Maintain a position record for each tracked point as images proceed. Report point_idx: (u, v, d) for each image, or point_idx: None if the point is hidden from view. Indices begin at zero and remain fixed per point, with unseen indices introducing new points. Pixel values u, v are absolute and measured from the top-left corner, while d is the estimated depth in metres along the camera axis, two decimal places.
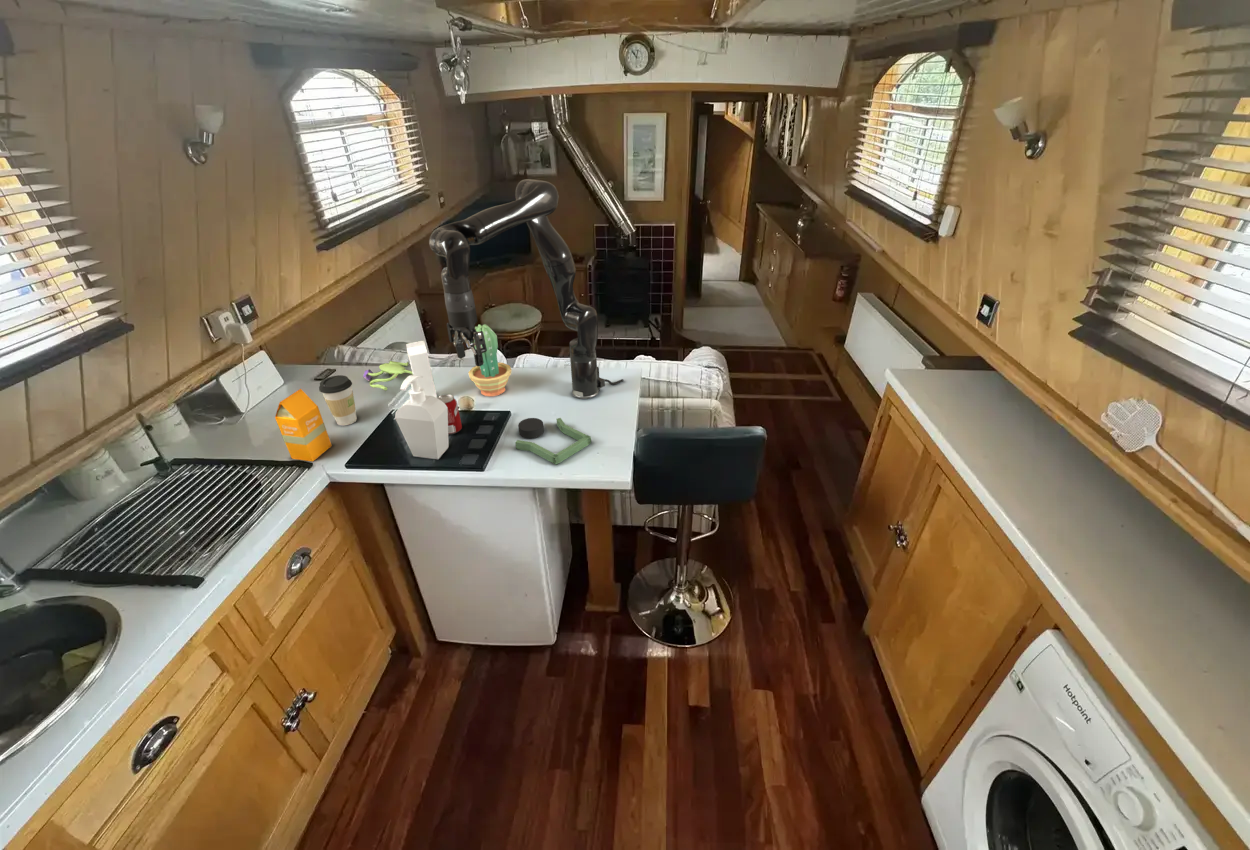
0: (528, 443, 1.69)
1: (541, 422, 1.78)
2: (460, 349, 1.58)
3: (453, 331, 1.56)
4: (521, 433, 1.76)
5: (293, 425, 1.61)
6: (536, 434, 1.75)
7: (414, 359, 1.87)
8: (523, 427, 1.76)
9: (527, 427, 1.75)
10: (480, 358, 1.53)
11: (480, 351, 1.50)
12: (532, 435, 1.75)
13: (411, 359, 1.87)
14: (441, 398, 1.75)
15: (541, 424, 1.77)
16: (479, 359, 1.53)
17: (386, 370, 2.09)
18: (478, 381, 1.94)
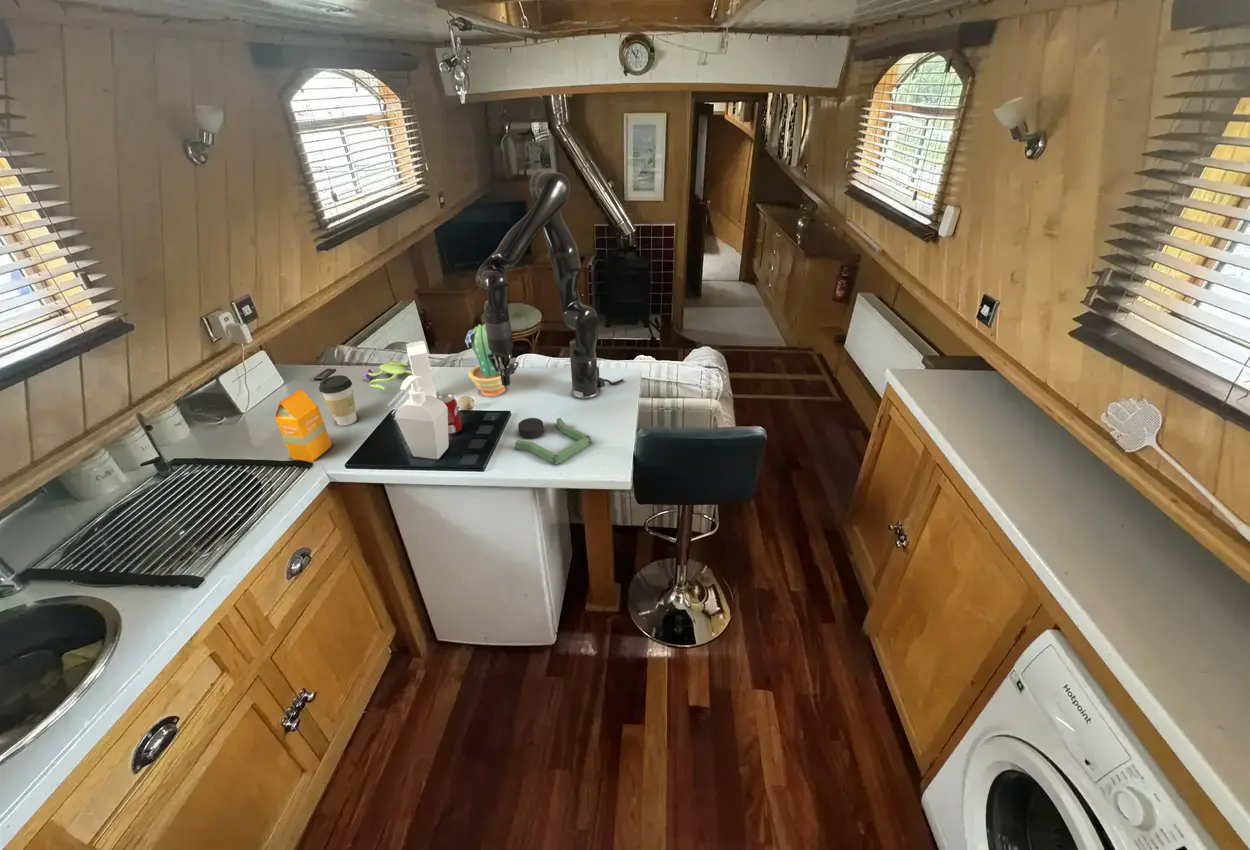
0: (528, 443, 1.69)
1: (541, 422, 1.78)
2: None
3: (495, 360, 1.75)
4: (521, 433, 1.76)
5: (293, 425, 1.61)
6: (536, 434, 1.75)
7: (414, 359, 1.87)
8: (523, 427, 1.76)
9: (527, 427, 1.75)
10: (507, 379, 1.75)
11: None
12: (532, 435, 1.75)
13: (411, 359, 1.87)
14: (441, 398, 1.75)
15: (541, 424, 1.77)
16: (507, 380, 1.75)
17: (386, 370, 2.09)
18: (478, 381, 1.94)
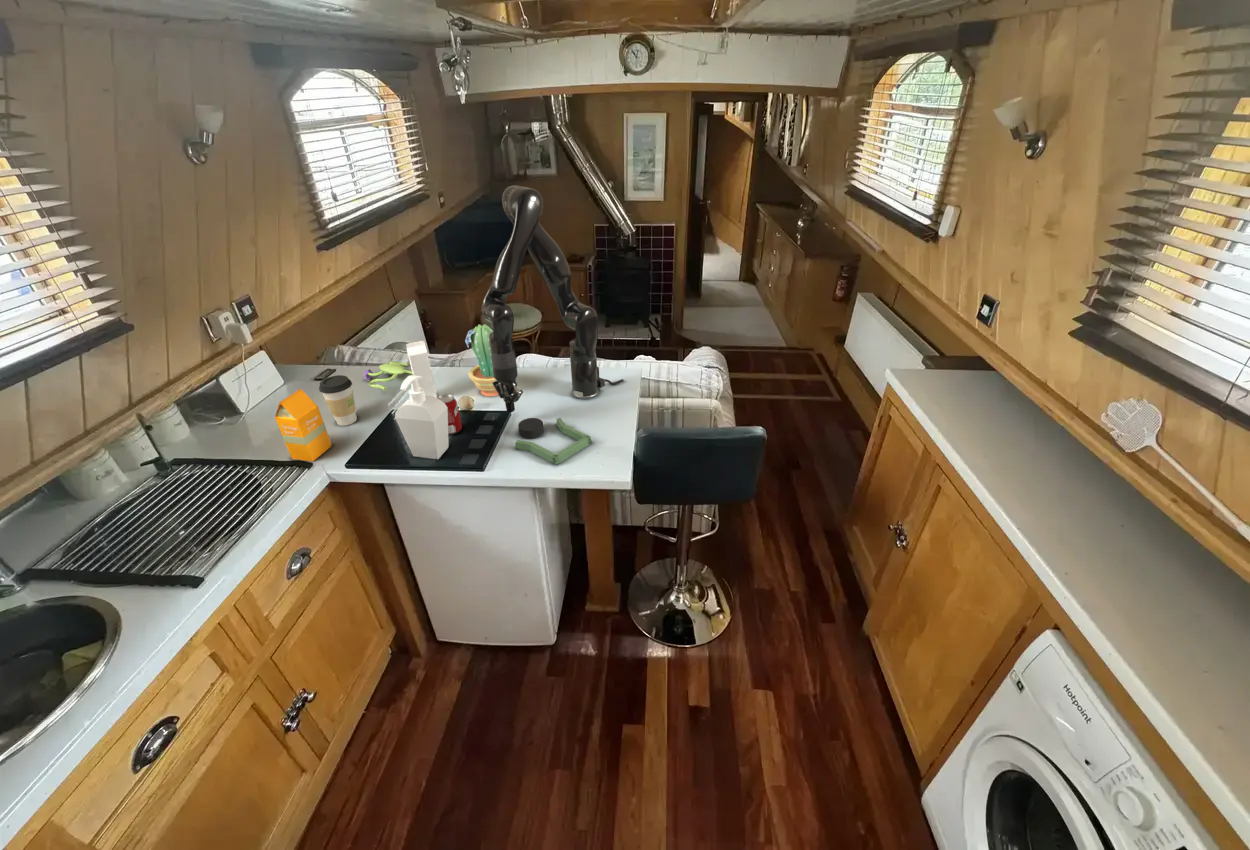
0: (528, 443, 1.69)
1: (541, 422, 1.78)
2: None
3: (500, 387, 1.80)
4: (521, 433, 1.76)
5: (293, 425, 1.61)
6: (536, 434, 1.75)
7: (414, 359, 1.87)
8: (523, 427, 1.76)
9: (527, 427, 1.75)
10: (512, 406, 1.80)
11: None
12: (532, 435, 1.75)
13: (411, 359, 1.87)
14: (441, 398, 1.75)
15: (541, 424, 1.77)
16: (511, 407, 1.80)
17: (386, 370, 2.09)
18: (478, 381, 1.94)
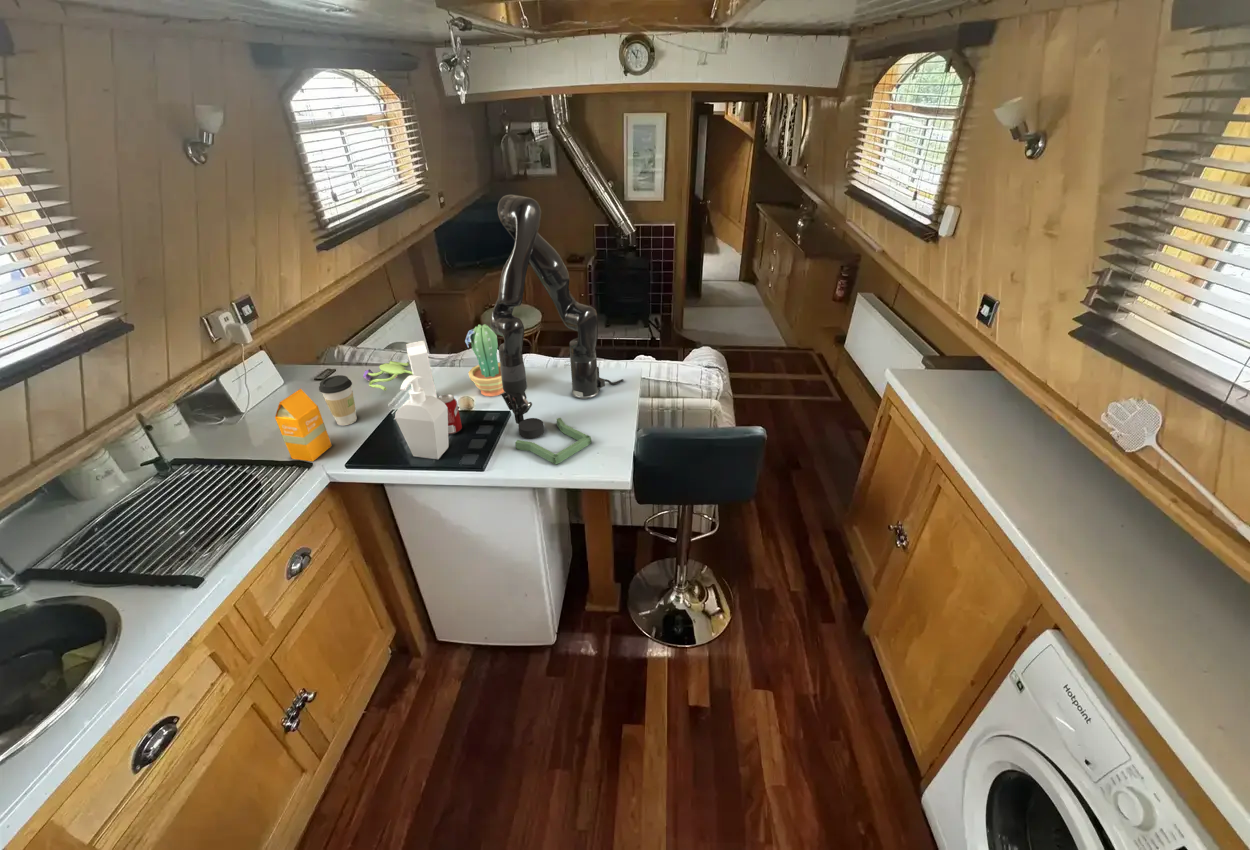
0: (528, 443, 1.69)
1: (541, 422, 1.78)
2: None
3: (509, 399, 1.79)
4: (521, 433, 1.75)
5: (293, 425, 1.61)
6: (536, 434, 1.75)
7: (414, 359, 1.87)
8: (524, 427, 1.76)
9: (527, 427, 1.75)
10: (521, 418, 1.79)
11: None
12: (532, 435, 1.75)
13: (411, 359, 1.87)
14: (441, 398, 1.75)
15: (541, 424, 1.77)
16: (520, 419, 1.79)
17: (386, 370, 2.09)
18: (478, 381, 1.94)
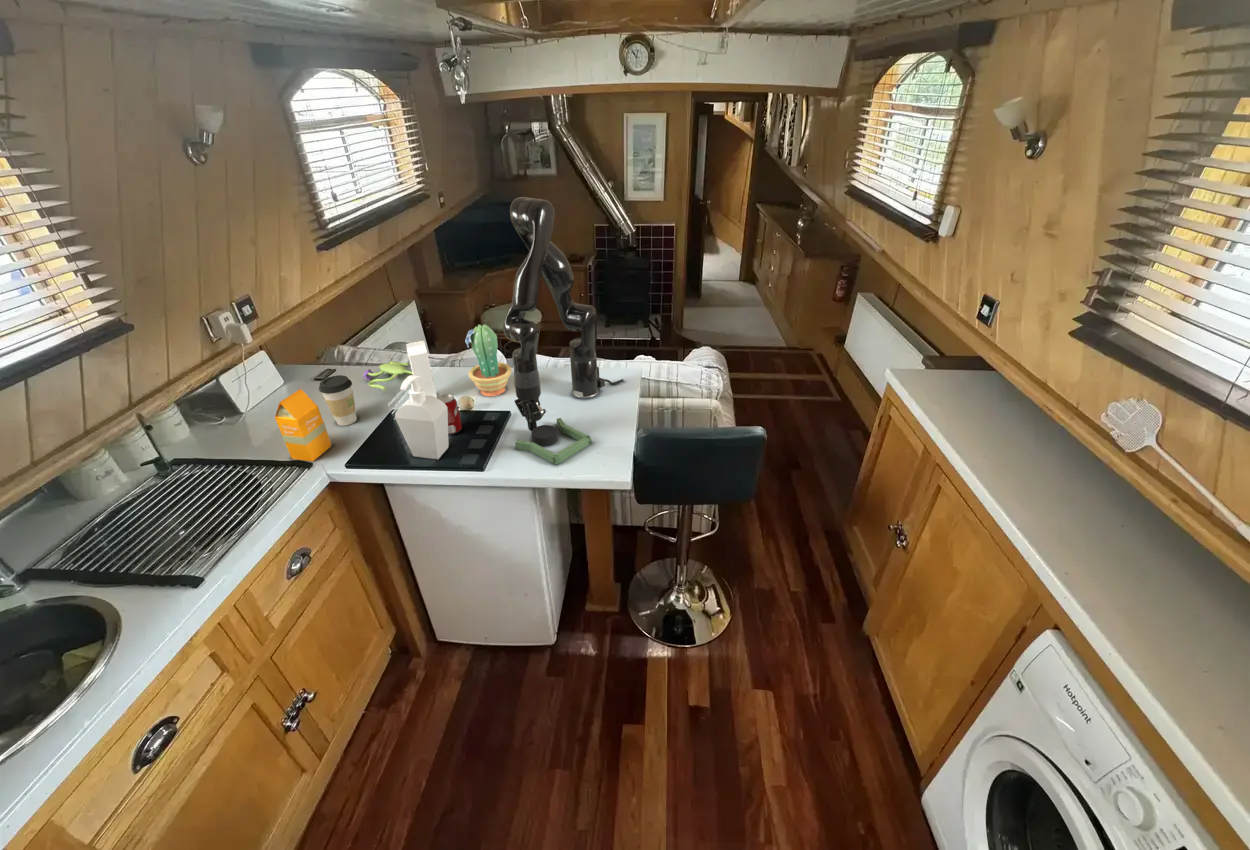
0: (528, 443, 1.69)
1: (555, 429, 1.74)
2: None
3: (522, 406, 1.75)
4: (534, 441, 1.72)
5: (293, 425, 1.61)
6: (550, 442, 1.71)
7: (414, 359, 1.87)
8: (537, 434, 1.72)
9: (540, 435, 1.72)
10: (534, 425, 1.75)
11: None
12: (546, 443, 1.71)
13: (411, 359, 1.87)
14: (441, 398, 1.75)
15: (555, 431, 1.73)
16: (533, 426, 1.75)
17: (386, 370, 2.09)
18: (478, 381, 1.94)
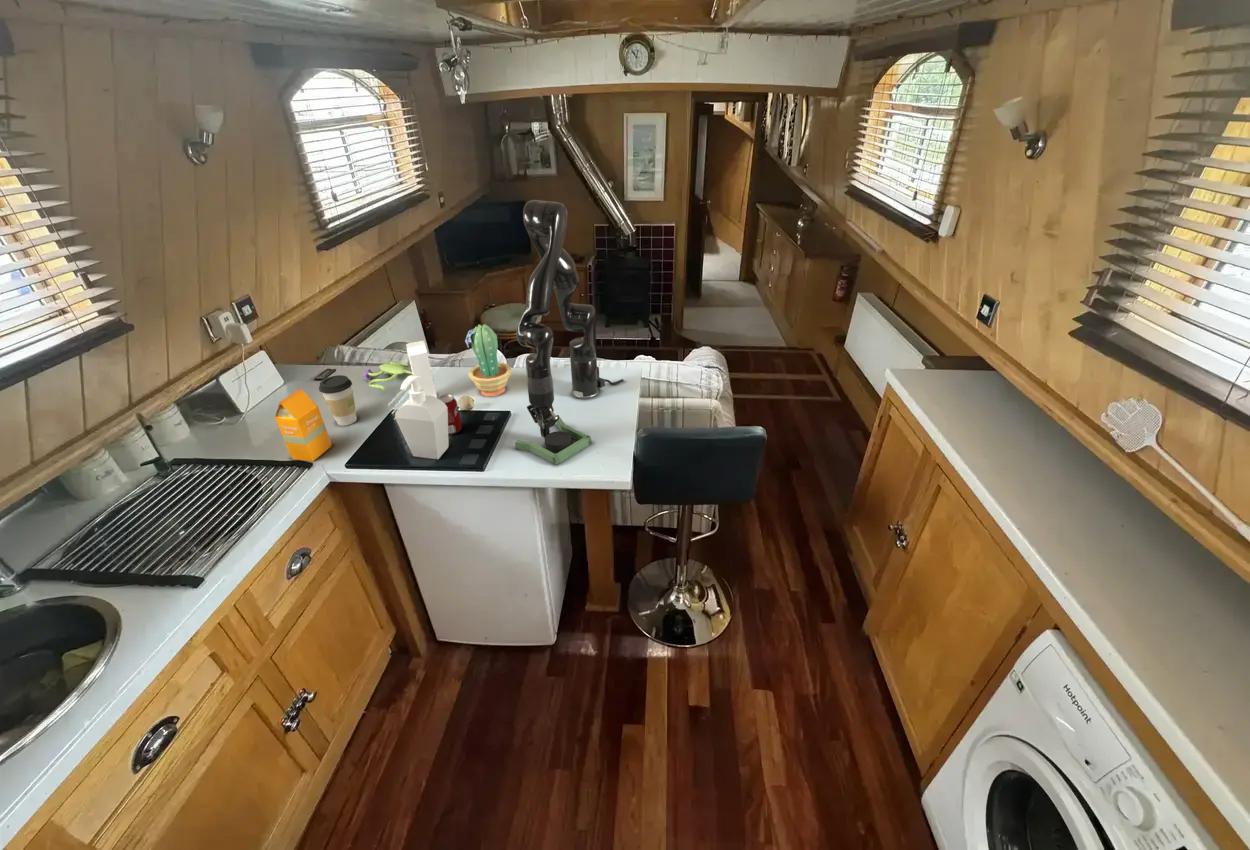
0: (528, 443, 1.69)
1: (568, 436, 1.71)
2: None
3: (534, 412, 1.72)
4: (548, 447, 1.68)
5: (293, 425, 1.61)
6: (564, 448, 1.68)
7: (414, 359, 1.87)
8: (550, 441, 1.68)
9: (554, 441, 1.68)
10: (547, 431, 1.72)
11: None
12: (559, 450, 1.68)
13: (411, 359, 1.87)
14: (441, 398, 1.75)
15: (568, 438, 1.70)
16: (546, 432, 1.72)
17: (386, 370, 2.09)
18: (478, 381, 1.94)
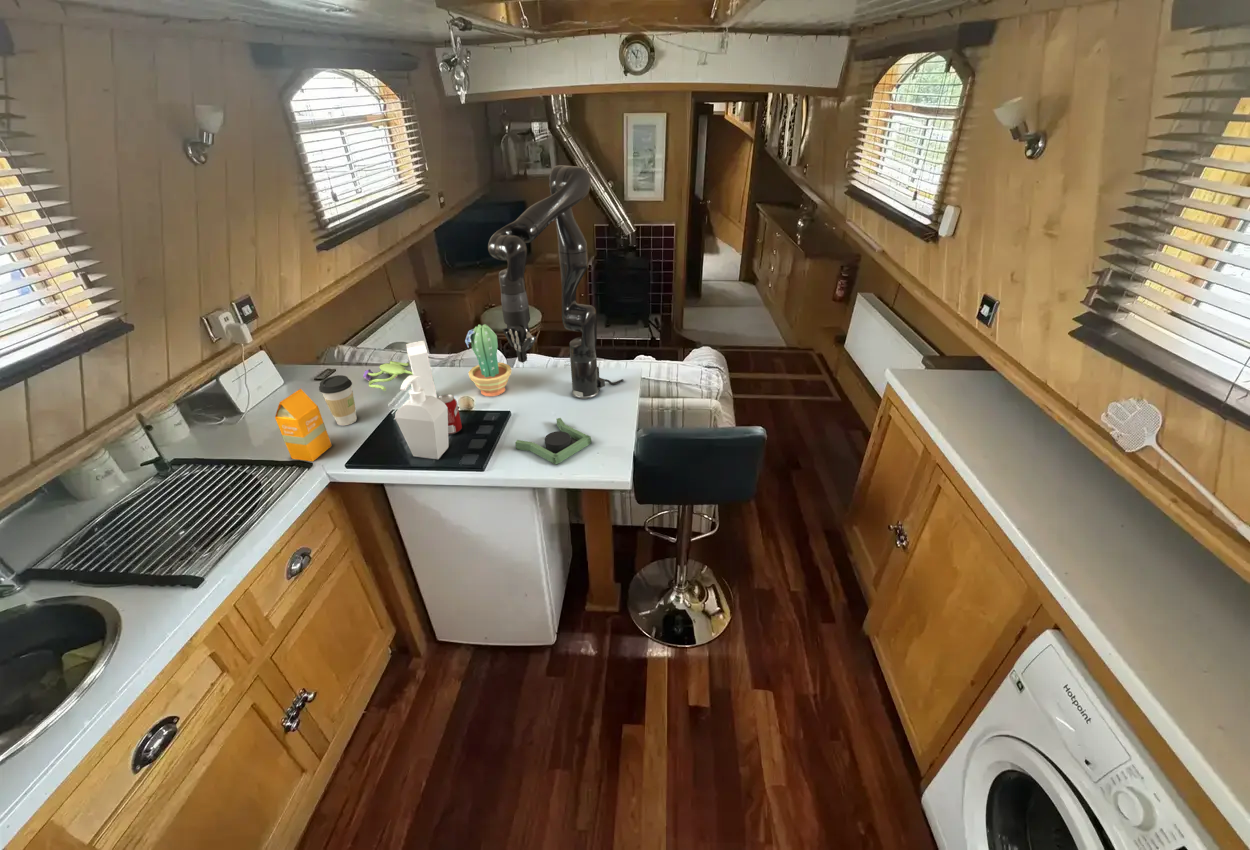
0: (528, 443, 1.69)
1: (568, 436, 1.71)
2: None
3: (510, 335, 1.65)
4: (548, 447, 1.68)
5: (293, 425, 1.61)
6: (564, 448, 1.68)
7: (414, 359, 1.87)
8: (550, 441, 1.68)
9: (554, 441, 1.68)
10: (524, 355, 1.65)
11: None
12: (559, 449, 1.68)
13: (411, 359, 1.87)
14: (441, 398, 1.75)
15: (568, 438, 1.70)
16: (523, 356, 1.65)
17: (386, 370, 2.09)
18: (478, 381, 1.94)
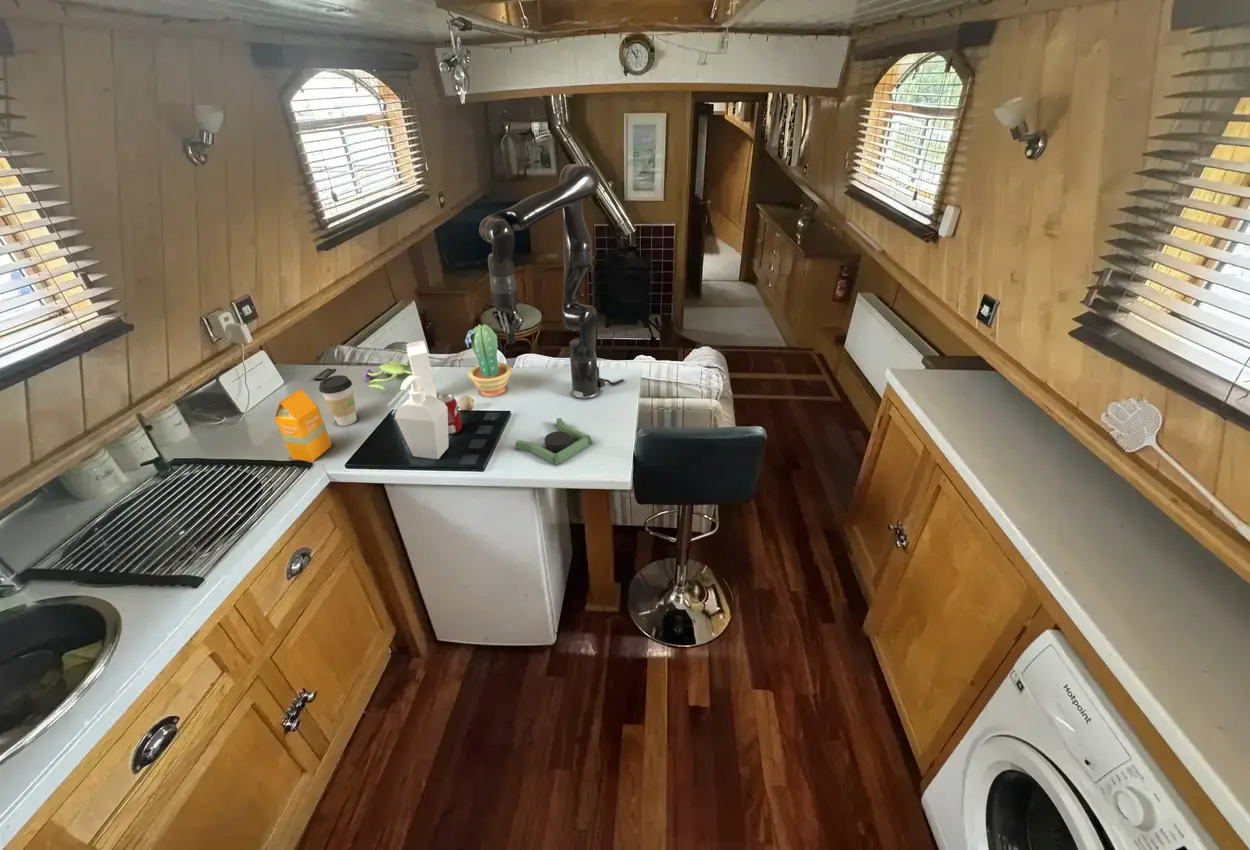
0: (528, 443, 1.69)
1: (568, 436, 1.71)
2: None
3: (500, 317, 1.71)
4: (548, 447, 1.68)
5: (293, 425, 1.61)
6: (564, 448, 1.68)
7: (414, 359, 1.87)
8: (550, 441, 1.68)
9: (554, 441, 1.68)
10: (513, 337, 1.71)
11: None
12: (559, 449, 1.68)
13: (411, 359, 1.87)
14: (441, 398, 1.75)
15: (568, 438, 1.70)
16: (512, 337, 1.71)
17: (386, 370, 2.09)
18: (478, 381, 1.94)
